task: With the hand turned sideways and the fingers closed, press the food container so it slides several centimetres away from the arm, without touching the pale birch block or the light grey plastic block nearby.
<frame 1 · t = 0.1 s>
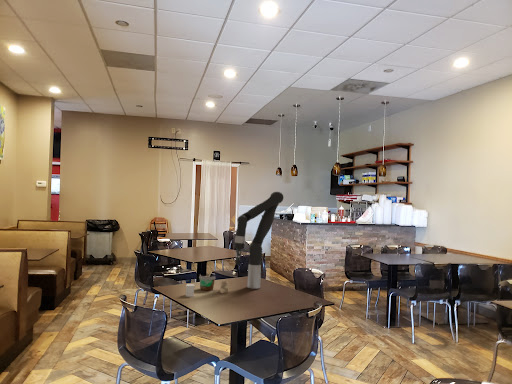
hand: (237, 263, 268), 17 cm above the table, tool pointing down, fingers open, 8 cm apart
food container: (205, 290, 252), on the table
birch block: (223, 292, 250), on the table
grey block: (189, 295, 235), on the table
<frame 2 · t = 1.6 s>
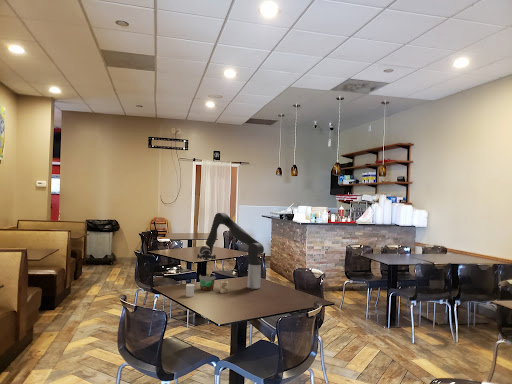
hand: (206, 258, 267), 20 cm above the table, tool horizontal, fingers open, 8 cm apart
nothing on the table moved.
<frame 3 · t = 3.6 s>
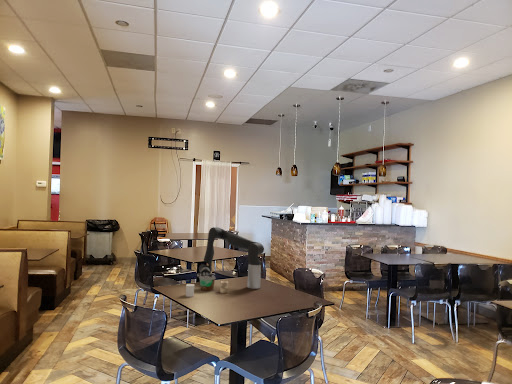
hand: (205, 277, 264), 7 cm above the table, tool horizontal, fingers closed
nothing on the table moved.
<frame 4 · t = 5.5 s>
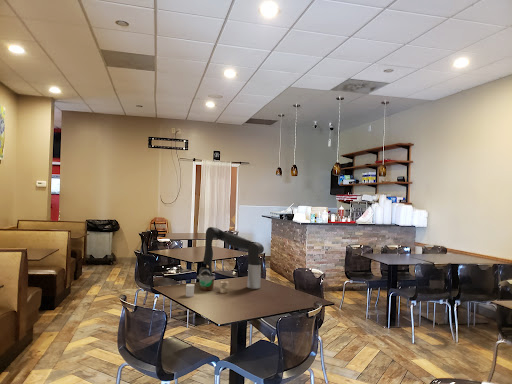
hand: (205, 279, 255), 7 cm above the table, tool horizontal, fingers closed
food container: (205, 290, 252), on the table, touching gripper
everything else where it was.
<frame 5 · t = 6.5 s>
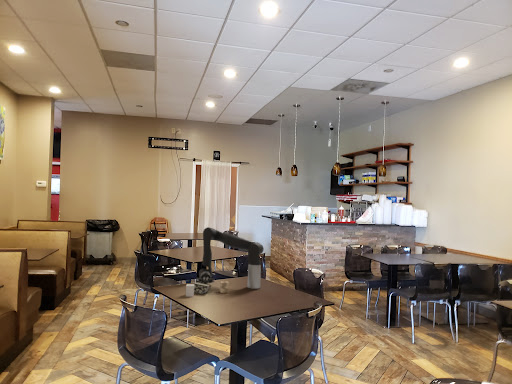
hand: (205, 282, 248), 6 cm above the table, tool horizontal, fingers closed
food container: (204, 288, 250), point 2 cm above the table, touching gripper
everything else where it was.
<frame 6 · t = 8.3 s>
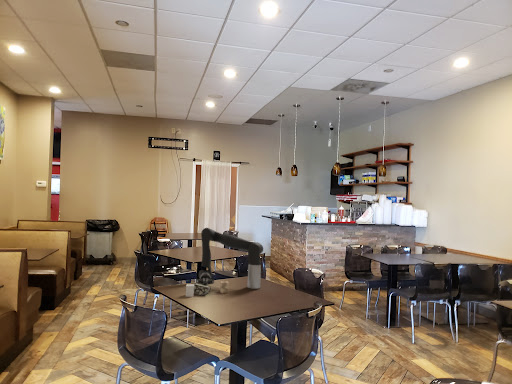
hand: (205, 283, 244), 6 cm above the table, tool horizontal, fingers closed
food container: (203, 289, 247), point 2 cm above the table, touching gripper
everything else where it was.
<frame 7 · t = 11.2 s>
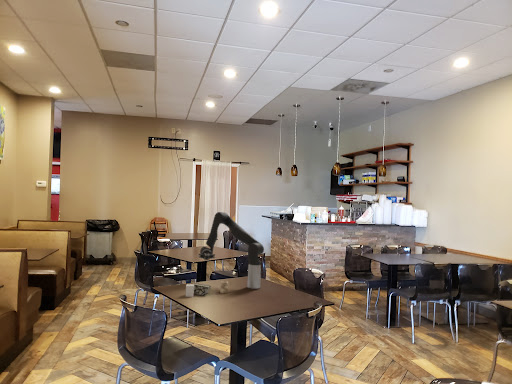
hand: (206, 257, 264), 21 cm above the table, tool horizontal, fingers closed
food container: (203, 289, 247), point 2 cm above the table
everything else where it was.
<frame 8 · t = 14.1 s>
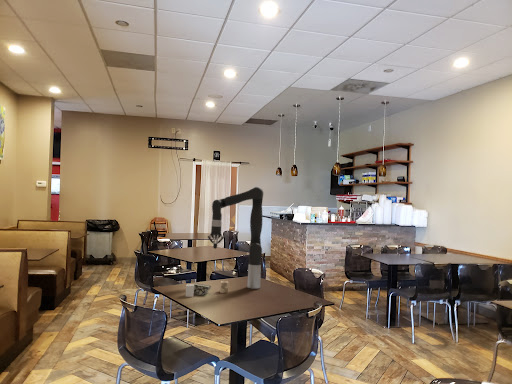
hand: (215, 248, 274), 27 cm above the table, tool pointing down, fingers closed
nothing on the table moved.
at the end: food container moved 5.6 cm from its start; birch block moved 0.1 cm from its start; grey block moved 0.3 cm from its start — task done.
